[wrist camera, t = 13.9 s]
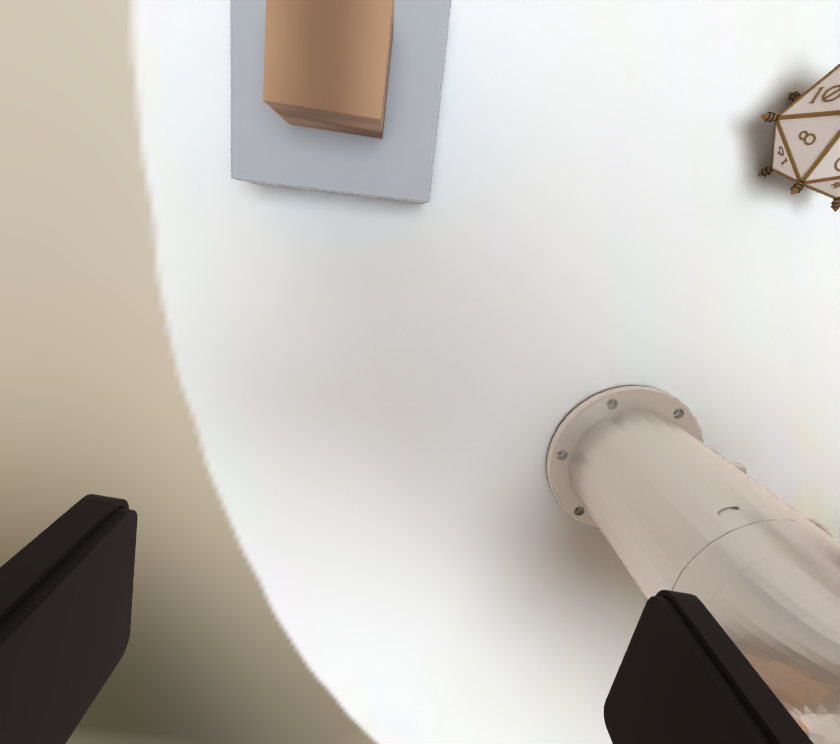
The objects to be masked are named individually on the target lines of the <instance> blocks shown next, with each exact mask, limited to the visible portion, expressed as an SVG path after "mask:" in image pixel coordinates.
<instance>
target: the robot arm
mask: <svg viewBox="0 0 840 744" xmlns="http://www.w3.org/2000/svg"><path fill="white" fill-rule="evenodd" d="M608 400H609V402H608ZM559 451H560V452H559ZM547 476H548V481H549V484H550V487H551V490H552V492H553V493H554V495H555V497H556V499H557V501H558V502H559V503H560V505H561V506H562V507H563V509H564V510H565V511H566V512H567V513H568V514H569V515H570V516H571V517H573V518H574V519H576V520H578V521H580V522H581V523H583V524H585V525H588V526H591V527H594V528H598V529H600V530H601V532H602V533H603V535H604V536H605V538H606V539H607V541H608V542H609V543H610V545H611V546H612V548H613V549H614V551H615V552H616V554H617V555H618V557H619V558H620V560H621V561H622V563H623V564H624V566H625V567H626V569H627V570H628V572H629V573H630V575H631V576H632V578H633V579H634V581H635V582H636V584H637V585H638V587H639V588H640V590H641V591H642V593H643V594H644V595H645V597H646V598H647V600H648V601H647V602H646V605H645V607H644V610H643V612H642V615H641V617H640V619H639V622H638V624H637V627H636V629H635V631H634V634H633V636H632V639H631V641H630V643H629V646H628V648H627V651H626V653H625V656H624V658H623V660H622V663H621V665H620V668H619V670H618V672H617V675H616V677H615V680H614V682H613V684H612V687H611V689H610V692H609V694H608V697H607V699H606V701H605V705H604V719H605V724H606V727H607V730H608V732H609V735H610V737H611V740H612V742H613V744H840V542H838V541H837V540H835V539H834V538H833V537H831V536H830V535H828V534H827V533H826V532H824V531H823V530H822V529H820V528H819V527H818V526H816V525H815V524H813V523H812V522H811V521H809V520H808V519H807V518H805V517H804V516H802V515H801V514H800V513H798V512H797V511H796V510H794V509H793V508H791V507H790V506H789V505H787V504H786V503H785V502H783V501H782V500H780V499H779V498H778V497H776V496H775V495H774V494H772V493H771V492H769V491H768V490H767V489H765V488H764V487H763V486H761V485H760V484H758V483H757V482H756V481H754V480H753V479H752V478H750V477H749V476H747V475H746V469H745V467H744V466H743V465H742V464H739V463H731V462H728V461H727V460H725V459H724V458H723V457H721V456H720V455H718V454H717V453H716V452H714V451H713V450H712V449H710V448H709V447H707V446H706V445H705V444H704V441H703V436H702V431H701V428H700V426H699V424H698V422H697V419H696V418H695V416H694V415H693V414H692V412H691V411H690V410H689V409H688V408H687V407H686V406H685V405H684V404H682V403H681V402H680V401H679V400H678V399H676V398H674V397H672V396H671V395H669V394H667V393H666V392H663V391H660V390H657V389H655V388H651V387H644V386H623V387H618V388H614V389H609V390H606V391H604V392H602V393H599V394H597V395H594V396H593V397H591V398H589V399H588V400H586V401H584V402H583V403H581V404H580V405H579V406H578V407H577V408H575V409H574V410H573V411H572V412H571V413H570V414H569V415H568V416H567V417H566V418H565V420H564V421H563V422H562V423H561V425H560V426H559V428H558V430H557V431H556V433H555V435H554V437H553V439H552V442H551V445H550V448H549V451H548V457H547ZM136 528H137V513H136V511H134V510H130V509H129V506H128V503H127V501H126V500H124V499H118V498H112V497H106V496H100V495H94V494H90V495H87V496H85V497H84V498H82V499H81V500H80V501H79V502H77V503H76V504H75V505H74V506H73V507H71V508H70V509H69V510H68V511H67V512H66V513H64V514H63V515H62V516H61V517H60V518H58V519H57V520H56V521H55V522H54V523H53V524H51V525H50V526H49V527H48V528H47V529H45V530H44V531H43V532H42V533H41V534H40V535H38V536H37V537H36V538H35V539H34V540H32V542H30V543H29V544H28V545H27V546H25V547H24V548H23V549H22V550H21V551H19V552H18V553H17V554H16V555H15V556H13V557H12V558H11V559H10V560H9V561H8V562H6V563H5V564H4V565H3V566H2V567H0V744H65V743H66V742H67V740H68V739H69V737H70V736H71V734H72V733H73V731H74V730H75V728H76V727H77V725H78V724H79V722H80V720H81V719H82V717H83V716H84V714H85V713H86V711H87V710H88V708H89V707H90V705H91V704H92V702H93V701H94V699H95V698H96V696H97V695H98V693H99V691H100V690H101V688H102V687H103V685H104V684H105V682H106V681H107V679H108V678H109V676H110V675H111V673H112V672H113V670H114V669H115V667H116V666H117V664H118V663H119V661H120V659H121V658H122V656H123V654H124V652H125V650H126V647H127V644H128V641H129V636H130V625H131V609H132V594H133V578H134V577H133V576H134V561H135V546H136V531H137V529H136ZM804 731H807V732H809V736H807V735H806V734H805V732H804Z"/></svg>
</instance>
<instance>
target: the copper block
mask: <svg viewBox="0 0 840 744" xmlns="http://www.w3.org/2000/svg"><path fill="white" fill-rule="evenodd" d="M393 27H394V0H266V23H265V52H264V81H263V101H264V102H265V103H266V104H267V105H269V106H270V107H271V108H272V109H273V110H274V111H275V112H276V113H278V114H279V115H280V116H281V117H282V118H283V119H284V120H285V121H287V122H288V123H289V124H290V125H297V126H303V127H310V128H316V129H322V130H329V131H335V132H342V133H348V134H355V135H361V136H367V137H374V138H380V139H383V130H384V120H385V111H386V101H387V91H388V81H389V71H390V62H391V52H392V42H393Z"/></svg>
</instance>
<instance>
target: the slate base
mask: <svg viewBox="0 0 840 744" xmlns="http://www.w3.org/2000/svg"><path fill="white" fill-rule="evenodd" d="M450 7H451V0H394V27H393V42H392V52H391V62H390V71H389V81H388V91H387V101H386V111H385V120H384V130H383V139H380V138H374V137H367V136H361V135H355V134H348V133H342V132H335V131H329V130H322V129H316V128H310V127H303V126H297V125H290V124H289V123H288V122H287V121H285V120H284V119H283V118H282V117H281V116H280V115H279V114H278V113H276V112H275V111H274V110H273V109H272V108H271V107H270V106H269V105H267V104H266V103H265V102H264V101H263V81H264V52H265V23H266V0H231V178H233V179H237V180H242V181H246V182H250V183H255V184H261V185H269V186H277V187H286V188H294V189H303V190H311V191H320V192H328V193H337V194H345V195H354V196H362V197H371V198H379V199H388V200H396V201H405V202H413V203H422V204H423V203H426V202H429V199H430V190H431V181H432V172H433V163H434V154H435V144H436V135H437V126H438V117H439V108H440V99H441V89H442V80H443V71H444V62H445V53H446V44H447V35H448V25H449V16H450Z"/></svg>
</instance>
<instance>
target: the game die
mask: <svg viewBox="0 0 840 744" xmlns="http://www.w3.org/2000/svg"><path fill="white" fill-rule="evenodd" d="M789 99H790V100H792V101H793V103H791V104H790V105H789V106H788V107H787V108H785V109H784V110H783V111H782V112H781V113H779V114H778V115H775V113H771V112H768V113H766V114H763V115H761V116H762V117H763V119H764V120H765V122H766V121H769V122H771V121H774V136H773V150H772V164H771V167H768V168H767V167H766V168H765V169H762V171H761V173H760V174H759V176H764V177H766V176H767V175H769V174H770V173H771V172H772V171H774V172H776V173H778V174H780V175H782V176H784V177H786V178H788V179H790V180H792V181H794V182H796V184H794V185H793V187H792V188H790V189H791V195H792V194H795V193H800V190H802V188H803V186H804V187H807V188H809V189H812V190H814V191H817V192H819V193H821V194H824V195H826V196H829V197H831V198H833V199H834V200H833V202H832V203H831V204H832V206H831V207H832V208H833V210H834V211H835V212H836V211H837V210H838V209H839V208H840V64H839V65H838V66H836V67H835V68H834V69H833V70H831V71H830V72H829V73H828V74H827V75H825V76H824V77H823V78H822V79H821V80H819V81H818V82H817V83H816V84H815V85H813V86H812V87H811V88H810V89H808V90H807V91H806V92H805V93H804V94H802V95H801V96H800V93H799V94H798V91H797V92H794V93H790V96H789Z"/></svg>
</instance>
